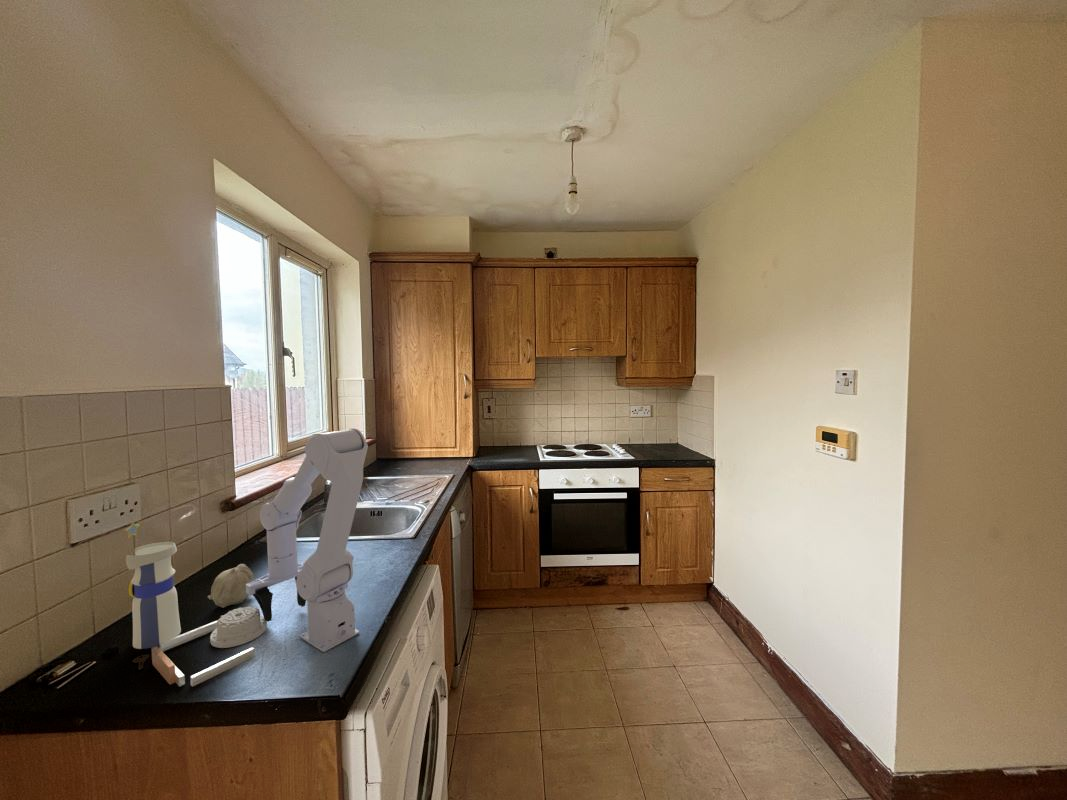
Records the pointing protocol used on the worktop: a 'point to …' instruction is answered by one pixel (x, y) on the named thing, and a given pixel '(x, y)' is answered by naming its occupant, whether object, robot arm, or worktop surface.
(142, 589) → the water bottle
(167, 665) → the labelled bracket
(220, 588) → the garlic bulb
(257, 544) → the worktop surface
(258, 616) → the mechanical component
